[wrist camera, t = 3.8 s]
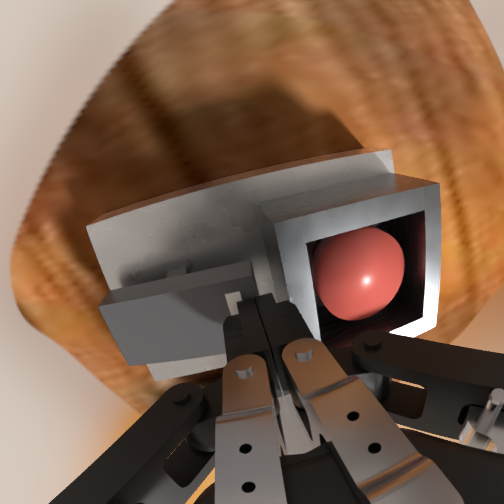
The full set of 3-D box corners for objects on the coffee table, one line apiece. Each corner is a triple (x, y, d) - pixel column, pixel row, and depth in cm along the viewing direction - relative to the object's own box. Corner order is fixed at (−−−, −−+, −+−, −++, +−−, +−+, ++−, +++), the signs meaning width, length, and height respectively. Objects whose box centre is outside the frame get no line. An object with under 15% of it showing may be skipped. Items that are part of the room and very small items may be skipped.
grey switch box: (103, 213, 16) (50, 253, 9) (364, 148, 17) (440, 153, 10) (160, 352, 19) (149, 430, 13) (378, 290, 21) (436, 342, 14)
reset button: (302, 235, 13) (313, 244, 12) (386, 212, 14) (402, 219, 12) (316, 317, 15) (325, 332, 14) (390, 291, 15) (404, 303, 14)
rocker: (110, 290, 14) (97, 307, 12) (250, 259, 13) (251, 276, 12) (137, 346, 15) (128, 366, 13) (267, 325, 14) (269, 346, 13)
